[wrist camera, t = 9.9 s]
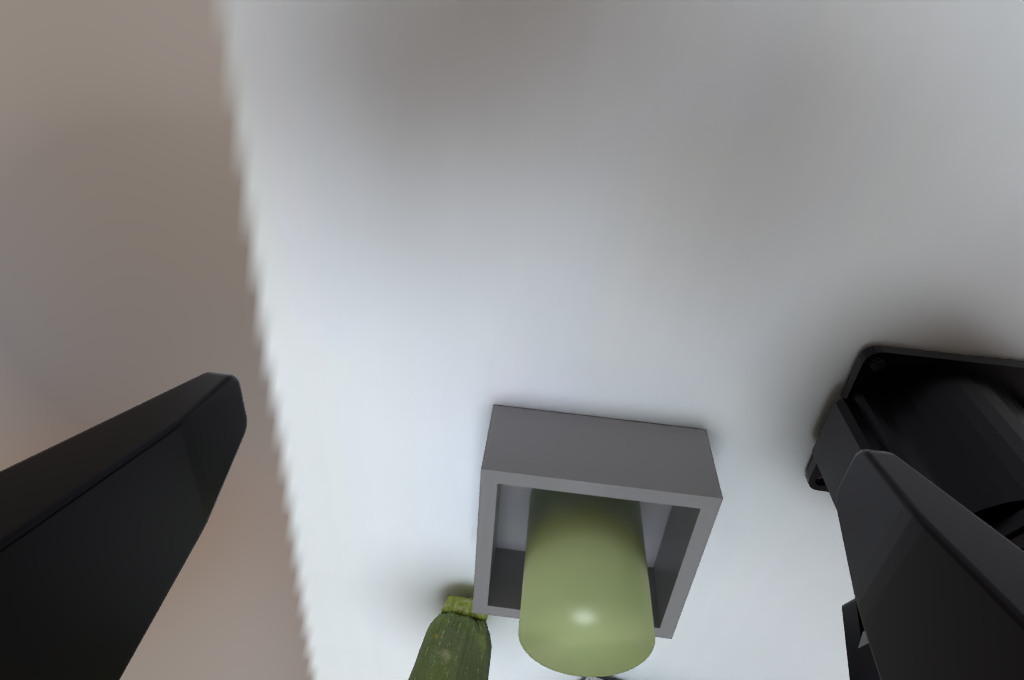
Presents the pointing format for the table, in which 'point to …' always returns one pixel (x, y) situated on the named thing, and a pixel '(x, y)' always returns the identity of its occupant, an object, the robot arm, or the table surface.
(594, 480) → the bin
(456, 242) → the table surface
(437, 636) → the vegetable
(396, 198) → the table surface
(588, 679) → the tea box
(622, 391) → the table surface
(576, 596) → the olive cylinder
